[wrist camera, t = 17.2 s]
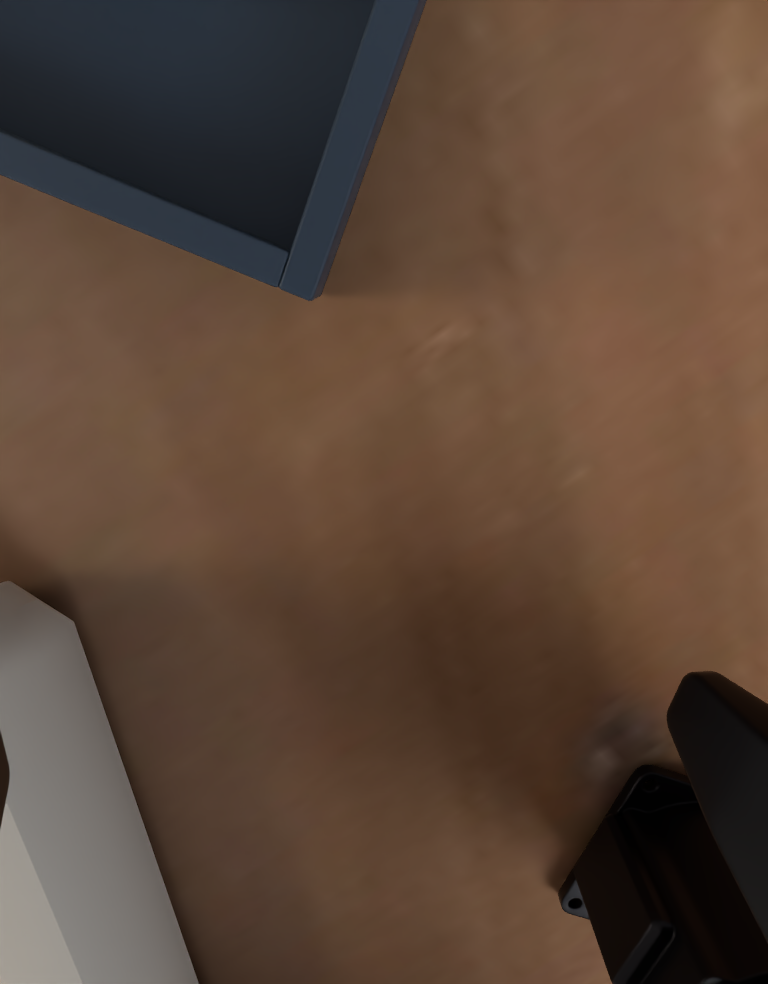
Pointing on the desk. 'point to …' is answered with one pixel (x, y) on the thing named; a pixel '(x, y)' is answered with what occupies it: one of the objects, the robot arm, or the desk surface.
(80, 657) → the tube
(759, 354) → the desk surface
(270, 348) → the desk surface
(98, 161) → the tray
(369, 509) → the desk surface
